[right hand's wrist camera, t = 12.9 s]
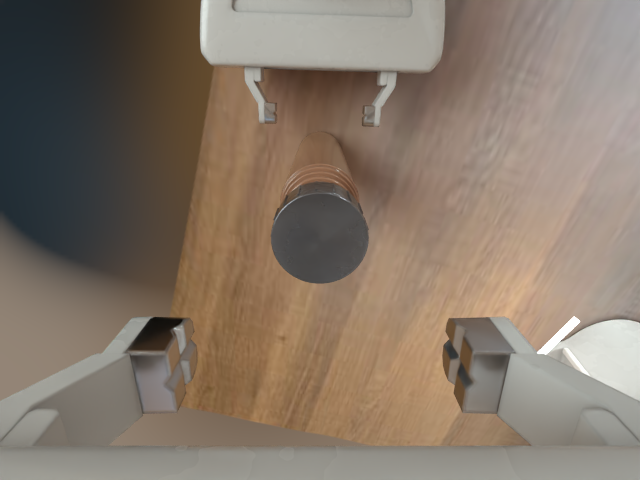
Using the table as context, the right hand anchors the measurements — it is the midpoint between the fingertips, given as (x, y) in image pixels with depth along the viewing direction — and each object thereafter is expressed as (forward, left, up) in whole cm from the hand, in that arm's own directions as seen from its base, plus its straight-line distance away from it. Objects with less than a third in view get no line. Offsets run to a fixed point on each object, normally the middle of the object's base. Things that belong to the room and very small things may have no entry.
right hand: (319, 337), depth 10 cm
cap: (0, 0, -8) cm, 8 cm away
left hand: (+4, +1, -28) cm, 28 cm away
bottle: (0, 0, -33) cm, 33 cm away
